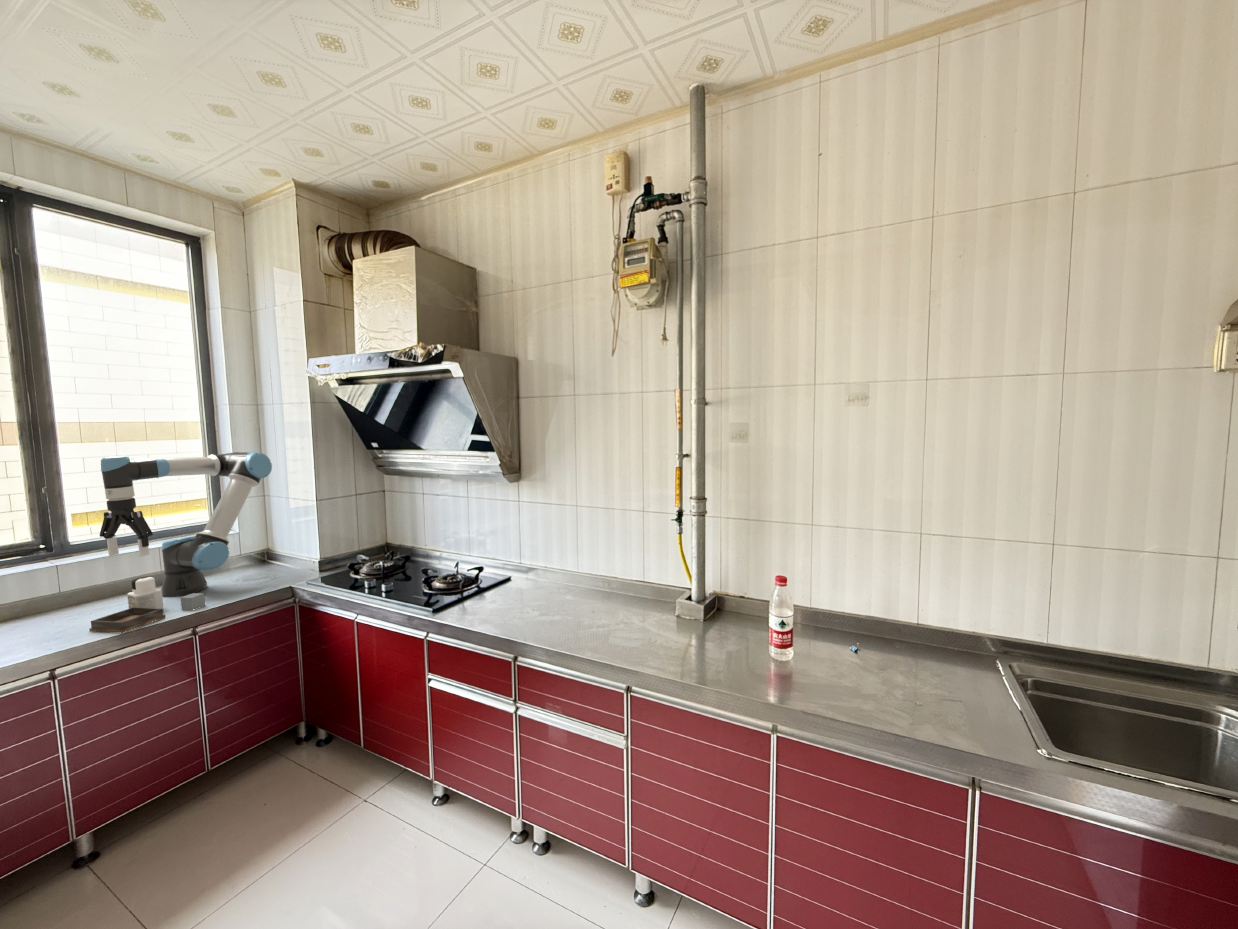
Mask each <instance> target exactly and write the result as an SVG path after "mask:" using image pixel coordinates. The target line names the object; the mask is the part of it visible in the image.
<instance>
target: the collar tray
mask: <svg viewBox="0 0 1238 929" xmlns="http://www.w3.org/2000/svg"><path fill="white" fill-rule="evenodd" d="M163 610H164V608H163V609H159V608H138V607H132V608H129V607H128V608H127V609H124V610H120V611H118V612H114V613H112V614H108V615H105V616H101V617H99V618H96V619H92V620H90V626H91V627H89V632H93V633H94V632H98V633H110V632H121V633H120V634H124V633H123V632H125V631H127V632H130V631H132V630H131V629H133V630H135V629H134V628H136V629H138V628H140V626H141V627H143V625H144V626H146V625H145V624H147V623H149V624H151V623H150V622H152V621H155V620H158V621H160V620H163V619H165V617H166V614H164V611H163ZM162 618H163V619H162ZM159 619H160V620H159ZM155 622H156V621H155ZM152 623H153V622H152ZM147 625H148V624H147ZM137 627H138V628H137ZM129 630H130V631H129ZM125 633H126V632H125Z"/></svg>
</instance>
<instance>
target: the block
mask: <svg viewBox="0 0 1238 929" xmlns="http://www.w3.org/2000/svg"><path fill="white" fill-rule="evenodd" d="M179 598H180V607H181V611H192V610H193V609H195V610H197V609H196V608H198V609H200V608H199V607H201V608H203V607H202V606H204V607H205V606H206V598H205V593H201V592H200V593H198V592H196V593H192V594H187V595H182V596H179ZM193 611H194V610H193Z"/></svg>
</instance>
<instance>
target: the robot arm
mask: <svg viewBox="0 0 1238 929" xmlns="http://www.w3.org/2000/svg"><path fill="white" fill-rule="evenodd" d="M272 469H273V465H272V462H271V459H270V458H269V457H268V455H266V454H265V453H262V452H256V451H250V452H246V451H245V452H241V451H238V452H227V453H222V454H221V453H220V454H210V455H208V456H204V457H202V456H201V457H198V456H197V457H195V456H194V457H151V458H130V457H129V456H127V455H119V456H118V455H117V456H107V457H106V456H105V457H102V458H101V460H100V471H101V475H102V482H103V486H104V493H105V498H106V500H107V501H106V507H107V511H105V512H103V521H102V524H101V528H100V532H99V537H100V538H102V537H103V538H104V539H105V542H106V547H107V552H108V557H114V556H117V555H119V554H120V552H119V546H118V540H117V536H116V533H117V532H118V530H119V528H120V526H121V525H125V526H128V527H129V528H130V530H132V532H134V534H135V535H136V536H137V537H138V538H137V545H138V546H137V547H138V552H139V553H138V554H139V557H141V558H142V557H145V556H148V555H150V547H149V545H150V543H149V537H151V536H154V533H153V532H152V529H151V528H150V526H149V524H148V522H147V521H146V520H145V518H144V514H143V511H142V510H139V511H134V509H135V508H137V503H136V498H134V497H135V495H136V494H135V488H134V481H135V482H136V481H139V480H149V479H159V478H164V477H178V476H180V477H181V476H198V475H199V476H200V475H202V476H203V475H208V476H211V477H227V478H229V482H228V484H227V485H226V488H225V490H224V492H223V493H222V495H221V497H220V499H219V501H218V503H217V505H216V507H215V508H214V510H213V512H212V513H211V516H210V517H209V519H208V522H207V524H206V525H205V527H204V528H203V530H202V531H198V532H197V533H196V535H190V536H183V537H182V536H181V537H178V538H173V539H168V540H165V541H163V542H162V544H161V552H162V558H163V560H162V562H163V569H164V578H163V582H162V585H161V589H160V590H162V597H164V598H165V597H167V598H171V597H183V596H186V595H189V594H192V593H195V592H196V593H198V592H202V591H204V590H206V589H208V581H207V580H206V577H205V576H204V574H203V573H202V571H211V570H215V569H217V568H218V569H219V567H221V566H223V565H224V564H225V563H226V562H227V560H228V559H229V556H230V551H229V543H230V540H229V539H228V535H229V534H230V532H231V530H232V528H233V526H234V524H235V522H236V520H237V518H238V516H239V514H240V513H241V510H242V508H243V507H244V504H245V502H246V501H247V499H248V497H249V495H250V493H251V491H252V488H253V487H256V486H258V485H259V484H260V482H261V479H264V478H266V477H268V476H269V475H271V472H272Z"/></svg>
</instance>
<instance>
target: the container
mask: <svg viewBox="0 0 1238 929" xmlns="http://www.w3.org/2000/svg"><path fill="white" fill-rule="evenodd" d="M131 588H132V589H131V592H127V595H126V596H127V603H128V609H129V608H132V607H138V608H159V609H163V610H164V601H163V600H164V598H163V596H162V590H161V589H159V588H157V586H156V578H155V577H154V576H151V575H147V576H141V577H140V576H139V577H137V578H134V579H132V581H131Z"/></svg>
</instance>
